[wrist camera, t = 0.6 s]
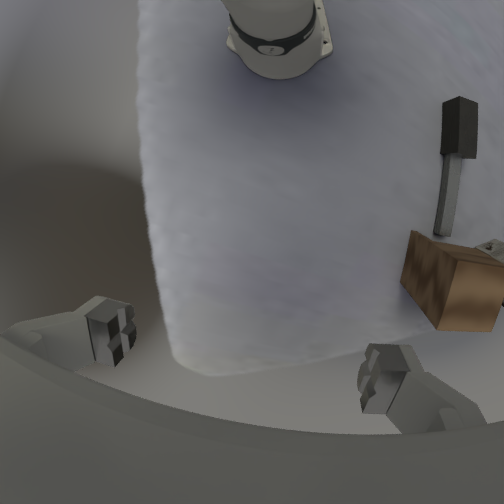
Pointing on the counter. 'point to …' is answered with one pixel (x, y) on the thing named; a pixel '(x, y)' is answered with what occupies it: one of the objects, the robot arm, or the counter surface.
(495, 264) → the walnut cabinet
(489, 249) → the coffee box
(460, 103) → the dark grey elongated piece
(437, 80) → the counter surface
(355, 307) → the counter surface
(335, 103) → the counter surface
